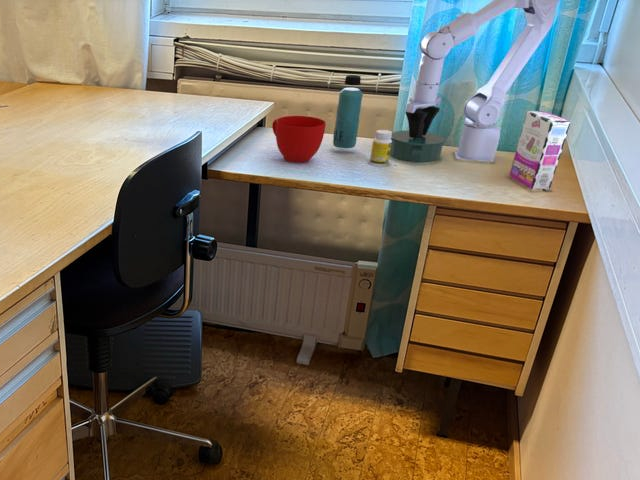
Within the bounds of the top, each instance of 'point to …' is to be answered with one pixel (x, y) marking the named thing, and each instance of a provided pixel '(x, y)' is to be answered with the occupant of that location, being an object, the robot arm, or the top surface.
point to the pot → (415, 152)
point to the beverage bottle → (348, 114)
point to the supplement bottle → (381, 147)
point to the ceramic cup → (298, 137)
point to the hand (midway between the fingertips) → (417, 136)
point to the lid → (422, 140)
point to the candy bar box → (539, 149)
